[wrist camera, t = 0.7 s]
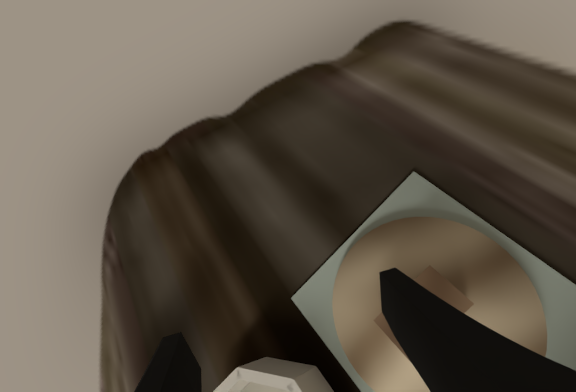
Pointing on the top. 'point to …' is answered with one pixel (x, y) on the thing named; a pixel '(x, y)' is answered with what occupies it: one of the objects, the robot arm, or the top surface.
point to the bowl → (275, 377)
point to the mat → (435, 203)
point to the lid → (437, 279)
